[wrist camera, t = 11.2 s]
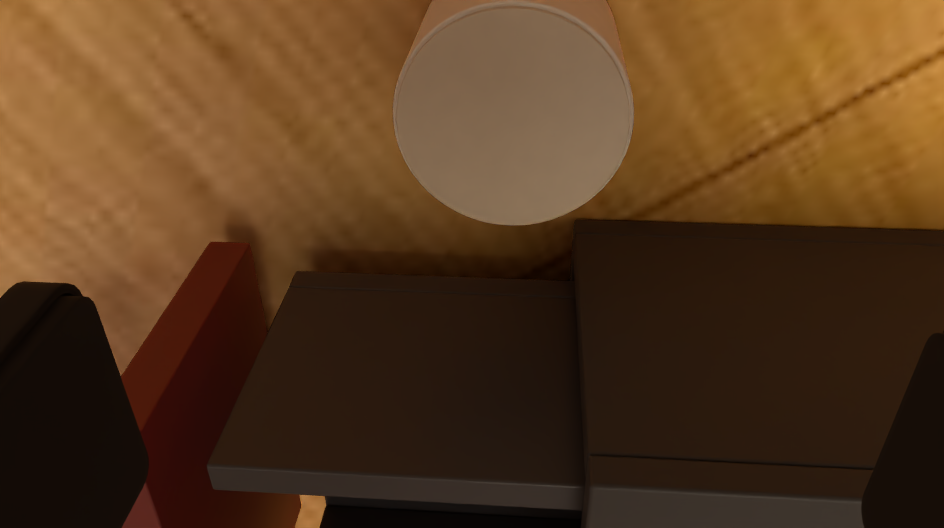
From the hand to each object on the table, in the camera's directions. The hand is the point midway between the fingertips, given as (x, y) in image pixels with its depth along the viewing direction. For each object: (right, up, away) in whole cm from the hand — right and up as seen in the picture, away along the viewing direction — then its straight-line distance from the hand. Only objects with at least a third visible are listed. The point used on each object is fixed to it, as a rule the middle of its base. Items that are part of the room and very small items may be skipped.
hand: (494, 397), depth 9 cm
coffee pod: (+1, +7, +11) cm, 13 cm away
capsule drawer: (-4, -3, +16) cm, 17 cm away
